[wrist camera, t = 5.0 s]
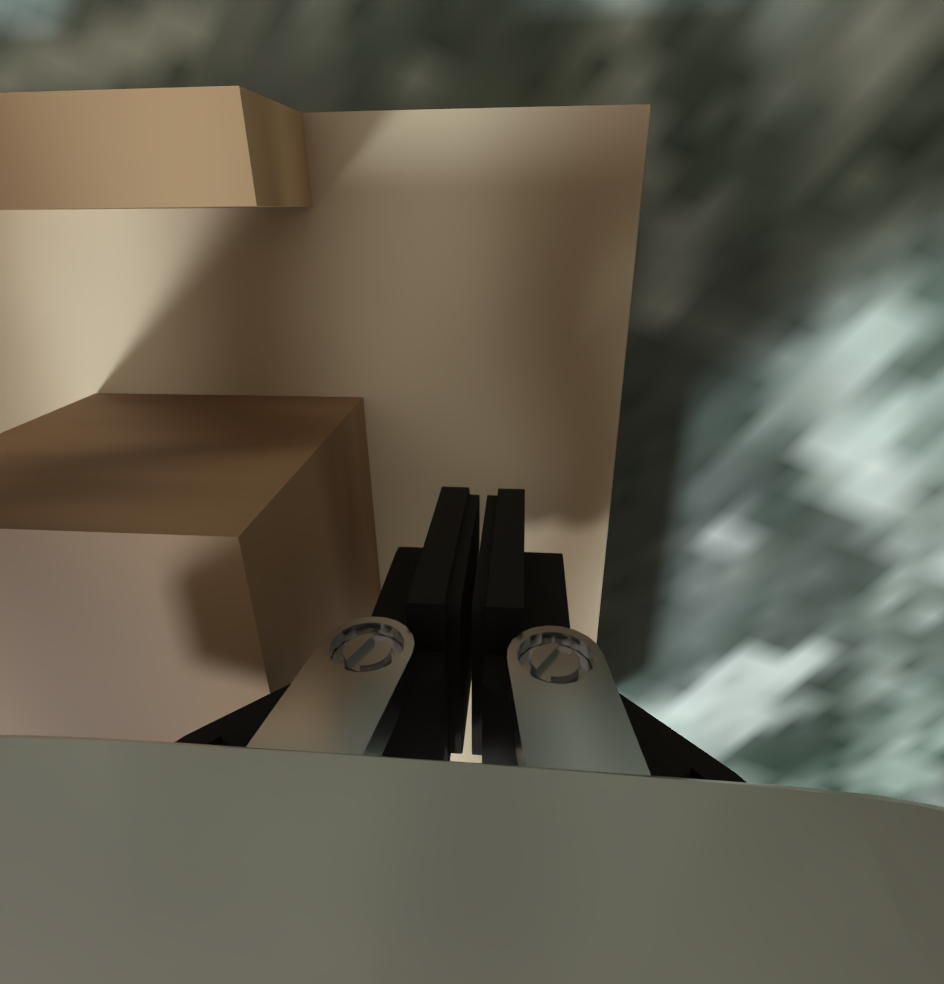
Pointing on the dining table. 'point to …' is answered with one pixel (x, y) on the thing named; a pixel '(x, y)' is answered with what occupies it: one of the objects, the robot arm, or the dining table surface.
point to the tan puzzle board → (341, 285)
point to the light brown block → (176, 556)
